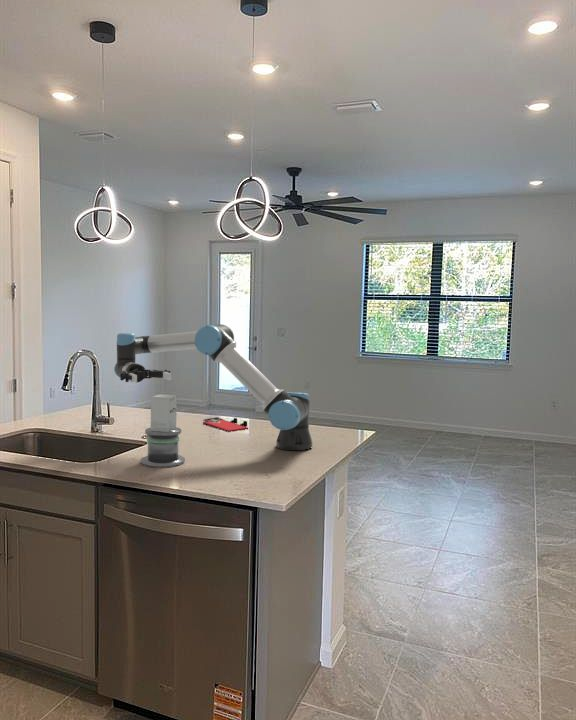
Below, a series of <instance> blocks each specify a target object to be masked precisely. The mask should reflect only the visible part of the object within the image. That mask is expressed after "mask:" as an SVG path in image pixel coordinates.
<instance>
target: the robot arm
mask: <svg viewBox="0 0 576 720" xmlns="http://www.w3.org/2000/svg"><path fill="white" fill-rule="evenodd" d="M188 350H189V351H190V350H198V352H199V353H201V354H202V355H205V356H208V357H210V359H211V360H213V362H214V363H216V364H219V363H221V364H222V366H223V367H225V368H226V369H227V370H228V371H229V372H230V374H232V376H234V378H235V379H237V381H239V382H240V383H241V384H242V385H243V386H244V387H245V389H247V391H248V392H249V393H251V395H253V396H254V397H255V399H257V400H258V402H260V403H261V405H262V410H263V412H264V413H265V414H266V415H267V416H268V419H269V422H270V423H271V425H272V426H273V427H274V428H275V429H278V430H280V431H279V432H278V435H277V439H276V442H275V443H276V446H275V447H276V448H278V449H280V450H283V449H284V450H285V451H290V450H302V451H306V450H305V449H308V450H310V449H309V448H311V447H312V448H313V440H312V437H311V432H310V429H309V428H310V426H309V425H310V402H311V400H310V394H309V393H306V392H294V391H293V392H292V391H286V390H285V389H279V388H278V387H276V385H274V384H273V383H272V381H270V380H269V379H268V377H267V376H266V375H264V373H263V372H261V371H260V370H259V369H258V367H256V366H255V365H254V364H253V363H252V361H250V360H249V359H248V358H247V357H246V356H245V355H244V354H243V353H242V352H241V351H240V350H239V349H238V348H237V342H236V341H235V335H234V332H233V330H232V329H231V328H230V327H229V326H227V325H225V324H221V323H219V324H218V323H217V324H207V325H206V324H205V325H204V326H201V327H200V328H199V329H198V330H196V331H195V330H194V331H188V332H187V331H186V332H177V333H176V332H174V333H166V334H155V335H143V336H142V335H141V336H140V335H139V336H136V334H135V333H133V332H119V333H118V334H117V335H116V363H115V364H114V366H113V371H114V374H115V376H117V377H118V378H120V379H119V380H120V381H124V380H125V383H129V381H130V383H141V382H142V381H143V380H145V379H152V378H157V379H159V378H160V379H163V380H166V381H172V373H171V371H170V370H167V369H164V370H157V369H146V368H145V366H144V365H142V364H140V363H136V355H141V354H151V353H160V352H161V353H162V352H173V351H176V352H177V351H178V352H179V351H188ZM312 448H311V449H312Z"/></svg>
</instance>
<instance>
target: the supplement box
mask: <svg viewBox="0 0 576 720" xmlns="http://www.w3.org/2000/svg"><path fill="white" fill-rule="evenodd" d="M177 397H178V396H177V395H176V394H157V395H153V396H151V397H150V428H151V431H160V432H169V431H171V430H173V429H176V427H177Z"/></svg>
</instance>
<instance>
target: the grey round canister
mask: <svg viewBox="0 0 576 720" xmlns="http://www.w3.org/2000/svg"><path fill="white" fill-rule="evenodd" d="M181 433H182V429H181V428H180V427H177V426H176V429H173V430H171V431H169V432H160V431H151V427H148V428H145V430H144V434H145V435H147V437H146V442H147V455H145V456H144V457H142V458H140V464H141V465H142V464H143V465H142V466H144V465H145V466H144V467H147V466H151V467H150V468H154V467H167V468H171V467H170V466H175V467H177V466H176V465H179V466H181V465H180V464H182V463H184V462H185V463H186V458H185V456H183V455H180V454H179V442H180V436H179V435H180V434H181ZM185 463H184V464H185ZM182 465H183V464H182Z"/></svg>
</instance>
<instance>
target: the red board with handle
mask: <svg viewBox="0 0 576 720" xmlns="http://www.w3.org/2000/svg"><path fill="white" fill-rule="evenodd" d="M203 420H204V421H203V422H202V424H203V423H204V424H203V425H205V424H207V425H206V426H208V425H210V426H209V427H211V426H213V428H214V427H216V428H215V429H217V428H219V429H218V430H221V429H222V431H224V430H225V431H224V432H227V431H228V432H227V433H231V431H232V432H239V431H243V430H244V431H245V429H247V430H249V427H248V421H246V420H243V421H242V423H240V424H238V418H237V417H233V420H230V421H228V420H225V419H224V418H221V417H218V416H217V417H210V418H208V417H207V418H203ZM235 423H236V424H235ZM238 430H239V431H238Z"/></svg>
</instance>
